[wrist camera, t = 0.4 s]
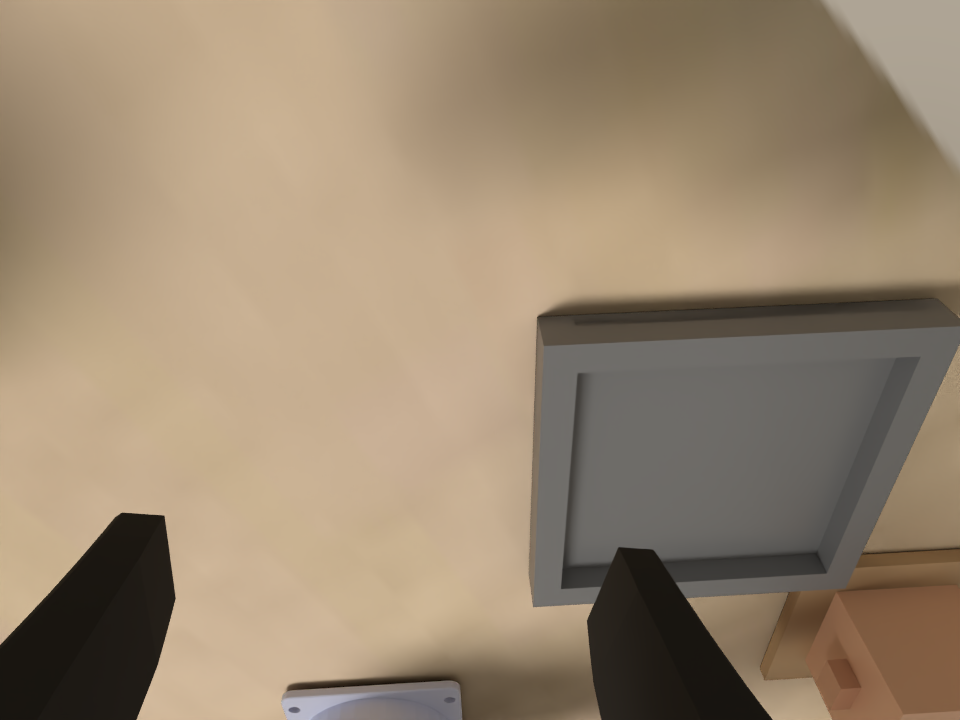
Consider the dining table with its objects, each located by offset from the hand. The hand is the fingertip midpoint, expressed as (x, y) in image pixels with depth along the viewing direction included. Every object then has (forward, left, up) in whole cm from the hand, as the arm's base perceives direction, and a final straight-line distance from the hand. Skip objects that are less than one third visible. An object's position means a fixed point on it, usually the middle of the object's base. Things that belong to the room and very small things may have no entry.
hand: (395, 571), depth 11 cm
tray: (-8, -10, -10) cm, 16 cm away
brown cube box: (-18, -19, -9) cm, 27 cm away
